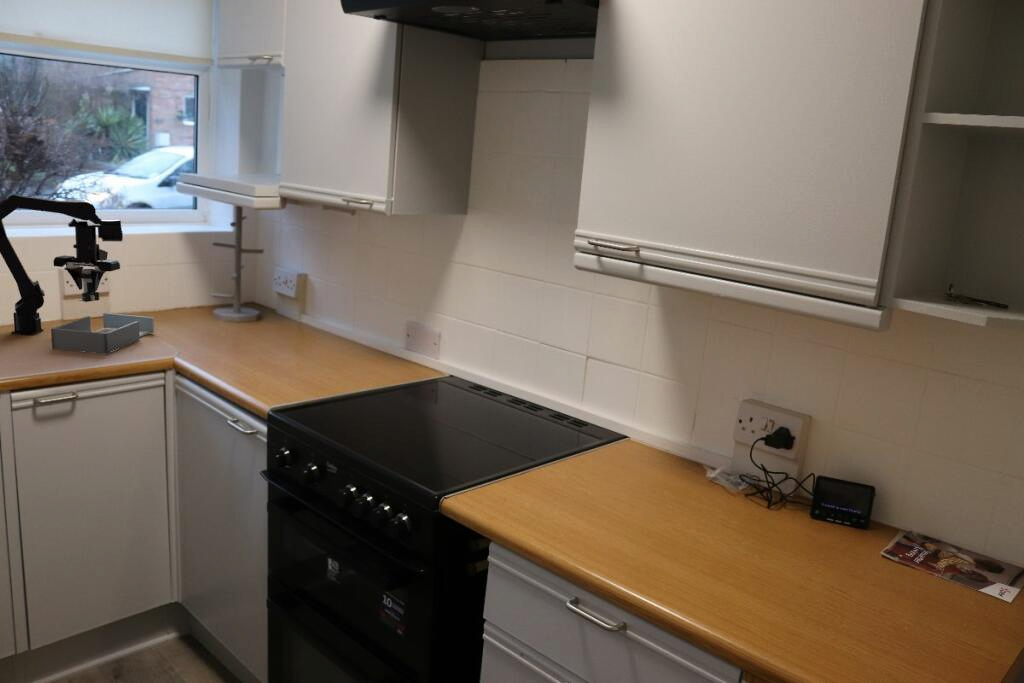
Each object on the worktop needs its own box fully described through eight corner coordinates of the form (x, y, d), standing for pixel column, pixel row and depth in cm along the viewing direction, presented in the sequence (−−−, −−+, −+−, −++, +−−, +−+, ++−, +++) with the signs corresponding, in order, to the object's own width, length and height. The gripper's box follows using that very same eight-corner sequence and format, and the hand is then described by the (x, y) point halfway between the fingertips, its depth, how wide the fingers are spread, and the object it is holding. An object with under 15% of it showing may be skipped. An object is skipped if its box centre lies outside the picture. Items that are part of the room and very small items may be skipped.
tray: (105, 327, 262) (104, 312, 261) (154, 332, 262) (153, 317, 260) (71, 340, 245) (70, 324, 244) (123, 345, 244) (123, 329, 243)
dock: (88, 334, 254) (87, 316, 252) (139, 339, 253) (139, 321, 251) (52, 348, 236) (51, 328, 235) (107, 354, 235) (106, 334, 234)
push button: (84, 303, 253) (82, 272, 251) (73, 301, 256) (71, 270, 253) (103, 300, 259) (101, 269, 257) (92, 298, 262) (90, 267, 259)
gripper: (128, 241, 260) (130, 288, 264) (72, 236, 261) (74, 283, 265) (109, 245, 250) (111, 294, 253) (51, 239, 251) (53, 289, 254)
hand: (88, 290), depth 257 cm, fingers closed on push button, 4 cm apart
